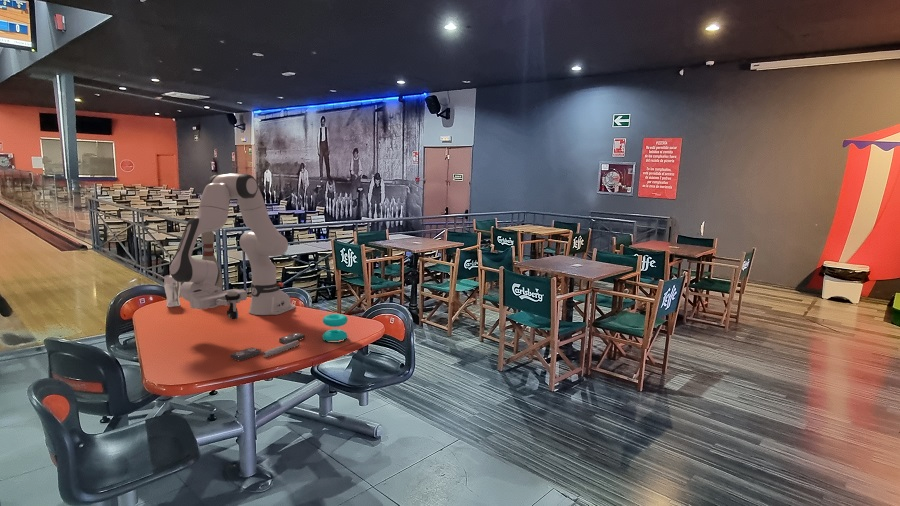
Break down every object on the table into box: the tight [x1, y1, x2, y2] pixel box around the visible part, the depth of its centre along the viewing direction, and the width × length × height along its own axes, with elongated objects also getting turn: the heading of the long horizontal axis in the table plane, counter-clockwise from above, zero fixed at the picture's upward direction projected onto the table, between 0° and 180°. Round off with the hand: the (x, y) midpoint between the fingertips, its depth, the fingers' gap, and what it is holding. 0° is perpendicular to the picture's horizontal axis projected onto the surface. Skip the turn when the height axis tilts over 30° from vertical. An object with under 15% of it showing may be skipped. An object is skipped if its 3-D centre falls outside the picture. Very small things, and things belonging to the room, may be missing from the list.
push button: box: [225, 291, 240, 321], centre depth 184 cm, size 7×5×10 cm
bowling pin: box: [201, 231, 223, 290], centre depth 241 cm, size 11×12×38 cm
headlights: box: [230, 332, 306, 362], centre depth 186 cm, size 31×9×2 cm, turn 150°
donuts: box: [322, 313, 349, 342], centre depth 199 cm, size 10×10×10 cm
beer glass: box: [163, 274, 182, 308], centre depth 237 cm, size 7×7×15 cm
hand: (233, 301), depth 184 cm, fingers closed on push button, 3 cm apart
